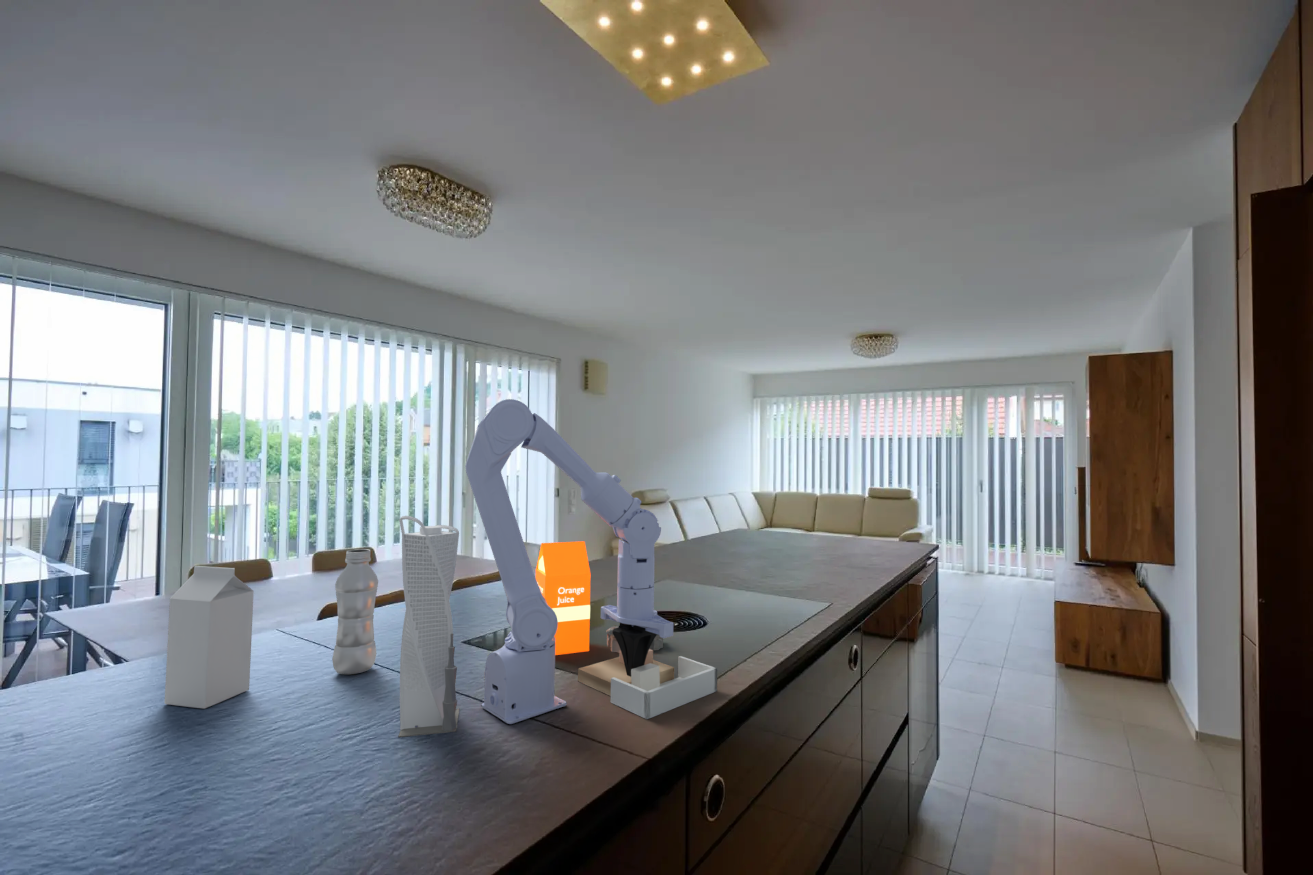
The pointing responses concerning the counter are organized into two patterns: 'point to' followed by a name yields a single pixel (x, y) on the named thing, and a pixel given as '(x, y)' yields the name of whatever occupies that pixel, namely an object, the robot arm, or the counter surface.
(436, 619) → the skyscraper
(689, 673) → the tray
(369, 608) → the plastic bottle
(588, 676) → the flat wooden plank
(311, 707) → the counter surface
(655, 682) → the cream tile
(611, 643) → the egg carton
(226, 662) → the milk carton
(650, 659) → the terracotta tile
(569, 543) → the orange juice
